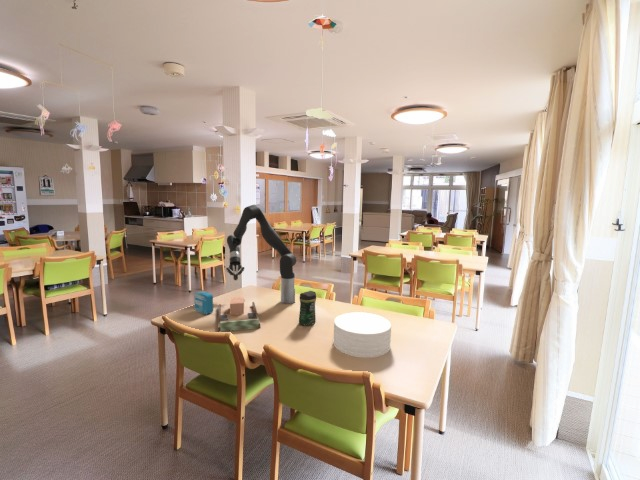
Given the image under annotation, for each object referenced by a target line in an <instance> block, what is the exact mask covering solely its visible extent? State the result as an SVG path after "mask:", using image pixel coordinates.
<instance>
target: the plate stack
mask: <svg viewBox="0 0 640 480" xmlns="http://www.w3.org/2000/svg"><path fill="white" fill-rule="evenodd" d="M391 333H392V323H391V322H390V320H388V319H387V318H385V317H383V316H382V315H379V314H375V313H369V312H363V311H362V312H359V311H357V312H355V311H354V312H346V313H343V314H342V313H341V314H339V315H338V316H336V317H335V318H334V320H333V345H334V347H335V349H336V350H338V352H340V353H343V354H346V355H348V356H351V357H355V358H363V359H365V358H367V359H368V358H377V357H381V356H383V355H387V353H388V352H389V351H390V350H389V349H391V340H392V339H391V336H392V334H391Z"/></svg>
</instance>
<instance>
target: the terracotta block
mask: <svg viewBox="0 0 640 480" xmlns="http://www.w3.org/2000/svg"><path fill="white" fill-rule="evenodd" d="M244 313H245V297H244V296H242V297H241V296H239V297H230V302H229V315H230V316H232V315H244Z"/></svg>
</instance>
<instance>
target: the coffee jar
mask: <svg viewBox="0 0 640 480" xmlns="http://www.w3.org/2000/svg"><path fill="white" fill-rule="evenodd" d="M316 300H317V293H316V292H315V291H313V290H309V291H305V292H301V293H300V294H299V303H300V304H299V305H300V306H299V315H298V316H299V317H298V323H299V324H300V325H301V326H311V325H313V324H315V323H316V321H317V320H316Z"/></svg>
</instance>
